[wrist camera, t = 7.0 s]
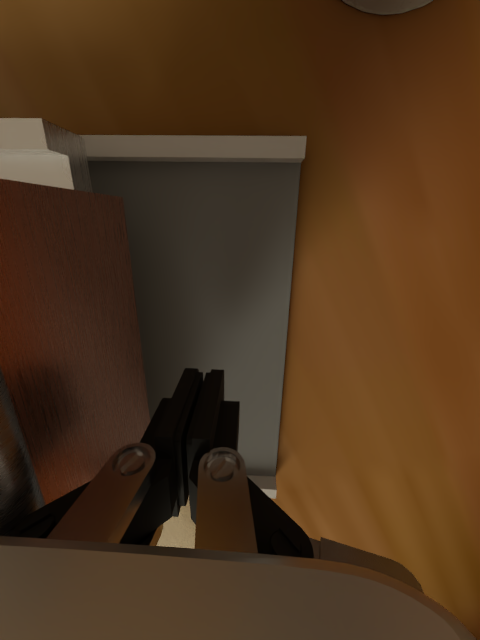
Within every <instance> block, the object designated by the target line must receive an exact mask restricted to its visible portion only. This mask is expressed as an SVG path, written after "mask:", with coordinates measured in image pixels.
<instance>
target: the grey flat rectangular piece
mask: <svg viewBox="0 0 480 640" xmlns="http://www.w3.org/2000/svg"><path fill="white" fill-rule="evenodd" d="M79 136H81V137H83V138H84V141H85V147H86V154H87V160H88V167H89V173H90V179H91V186H92V192H93V193H99V194H105V195H112V196H118V197H123V202H124V210H125V219H126V227H127V235H128V243H129V251H130V259H131V268H132V276H133V284H134V292H135V300H136V309H137V317H138V325H139V333H140V341H141V350H142V358H143V366H144V374H145V382H146V390H147V399H148V407H149V415H150V421H151V419H152V417H153V415H154V413H155V411H156V409H157V407H158V405H159V403H160V401H161V400H162V398H172V395H173V393H174V391H175V389H176V387H177V385H178V382H179V380H180V378H181V376H182V374H183V371H184V369H185V368H196V369H199V372H203V381H204V378H205V375H206V372H211V369H218V370H224V401H240V415H239V437H238V451H237V452H238V453H240V455H241V456H242V457H243V459H244V462H245V467H246V474H247V477H248V478H250V479H251V480H252V481H253V482H254V483H255V484H256V485H257V486H258V487H259V488H260V489H261V490H262V491H263V492H264V493H265V494H266V495H267V496H268V497H269V498H276V478H275V475H276V463H277V451H278V439H279V426H280V414H281V402H282V389H283V377H284V365H285V353H286V340H287V328H288V316H289V304H290V291H291V279H292V267H293V254H294V242H295V230H296V218H297V205H298V193H299V181H300V169H301V162H302V161H303V160H304V159H305V150H306V138H307V136H196V135H79Z"/></svg>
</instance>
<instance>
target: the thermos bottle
mask: <svg viewBox="0 0 480 640" xmlns="http://www.w3.org/2000/svg"><path fill="white" fill-rule="evenodd" d="M342 1H343V2H345V3H346V4H348V5H350V6H352V7H354V8H356V9H359V10H361V11H363V12H368V13H374V14H380V15H387V14H398V13H404V12H407V11H410V10H413V9H416V8H419V7H422V6H424V5H426V4H428V3H430V2H431V1H433V0H342Z"/></svg>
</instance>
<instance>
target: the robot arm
mask: <svg viewBox="0 0 480 640" xmlns="http://www.w3.org/2000/svg"><path fill="white" fill-rule="evenodd" d="M239 415H240V401H224V370H218V369H211V372H206V375H205V378H204V381H203V372H199V369H196V368H185V369H184V371H183V374H182V376H181V378H180V380H179V382H178V385H177V387H176V389H175V391H174V393H173V395H172V398H162V400H161V401H160V403H159V405H158V407H157V409H156V411H155V413H154V415H153V417H152V419H151V421H150V423H149V425H148V427H147V429H146V431H145V433H144V435H143V437H142V439H141V441H140V443H132V444H128V445H126V446H123V447H122V448H120V449H118V450H117V451H116V452H115V453H114V454H113V455H112V456H111V457H110V458H109V459H108V461H107V462H106V463H105V464H104V466H103V467H102V468H101V469H100V471H99V472H98V473H97V474H96V476H95V477H94V478H93V480H91V481H89V482H87V483H85V484H83V485H82V486H80V487H78V488H76V489H74V490H72V491H71V492H69V493H67V494H65V495H63V496H61V497H60V498H58V499H56V500H54V501H52V502H50V503H49V504H47V505H45V506H43V507H41V508H39V509H38V510H36V511H34V512H32V513H31V514H29V515H28V516H26V517H25V518H24V519H23V520H21V521H20V522H19V523H18V524H17V525H16V526H15V527H14V529H13V530H12V531H11V533H10V534H9V535H8V536H0V640H477V639H476V638H475V637H474V636H473V635H472V634H471V632H470V631H469V630H468V629H467V628H466V627H465V626H464V624H463V623H461V622H460V621H459V620H458V619H457V618H456V617H455V616H454V615H453V614H452V613H450V612H449V611H448V610H447V609H445V608H444V607H443V606H441V605H440V604H439V603H437V602H435V601H434V600H432V599H431V598H429V597H428V596H426V595H425V594H424V592H423V590H422V588H421V585H420V584H419V582H418V581H417V579H416V578H415V577H414V575H413V574H412V573H411V572H410V571H409V570H408V569H406V568H405V567H404V566H403V565H402V564H400V563H398V562H396V561H394V560H392V559H389V558H385V557H382V556H379V555H376V554H373V553H369V552H366V551H363V550H360V549H357V548H354V547H350V546H347V545H344V544H341V543H338V542H335V541H331V540H328V539H325V538H322V537H321V539H320V541H318V540H315V539H312V538H309V537H308V536H307V534H306V533H305V532H304V531H303V529H302V528H301V527H300V526H299V525H297V524H296V523H295V522H294V521H293V520H292V519H291V518H290V517H289V516H288V515H287V514H286V513H285V512H284V511H283V510H282V509H281V508H280V507H279V506H278V505H277V504H276V503H275V502H274V501H272V500H271V499H270V498H269V497H268V496H267V495H266V494H265V493H264V492H263V491H262V490H261V489H260V488H259V487H258V486H257V485H256V484H255V483H254V482H253V481H252V480H251V479H250V478H248V477H247V474H246V467H245V462H244V459H243V457H242V456H241V455H240V453H238V452H237V451H238V437H239ZM188 496H189V500H190V509H191V519H192V520H193V522H194V523H195V524H196V533H195V549H190V548H176V547H162V546H156V545H157V542H158V540H159V538H160V536H161V533H162V529H163V523H164V522H166V521H167V520H168V519H170V518H171V517H172V516H174V517H178V515H179V511H180V507H181V506H186V504H187V500H188Z"/></svg>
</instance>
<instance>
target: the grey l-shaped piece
mask: <svg viewBox="0 0 480 640" xmlns="http://www.w3.org/2000/svg"><path fill="white" fill-rule="evenodd" d="M149 423H150V415H149V407H148V399H147V390H146V382H145V374H144V366H143V358H142V350H141V341H140V333H139V325H138V317H137V309H136V300H135V292H134V284H133V276H132V268H131V259H130V251H129V243H128V235H127V227H126V219H125V210H124V202H123V197H118V196H112V195H105V194H99V193H93V192H92V186H91V179H90V173H89V167H88V160H87V154H86V147H85V141H84V138H83V137H81V136H79V135H76V134H74V133H72V132H70V131H68V130H66V129H64V128H61V127H59V126H57V125H55V124H53V123H51V122H49V121H46V120H44V119H42V118H0V536H8V535H9V534H10V533H11V531H12V530H13V529H14V527H15V526H16V525H17V524H18V523H19V522H20V521H21V520H23V519H24V518H25V517H26V516H28V515H29V514H31V513H32V512H34V511H36V510H38V509H39V508H41V507H43V506H45V505H47V504H49V503H50V502H52V501H54V500H56V499H58V498H60V497H61V496H63V495H65V494H67V493H69V492H71V491H72V490H74V489H76V488H78V487H80V486H82V485H83V484H85V483H87V482H89V481H91V480H93V478H94V477H95V476H96V474H97V473H98V472H99V471H100V469H101V468H102V467H103V466H104V464H105V463H106V462H107V461H108V459H109V458H110V457H111V456H112V455H113V454H114V453H115V452H116V451H117V450H118V449H120V448H122V447H123V446H126V445H128V444H132V443H140V441H141V439H142V437H143V435H144V433H145V431H146V429H147V427H148V425H149Z"/></svg>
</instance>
